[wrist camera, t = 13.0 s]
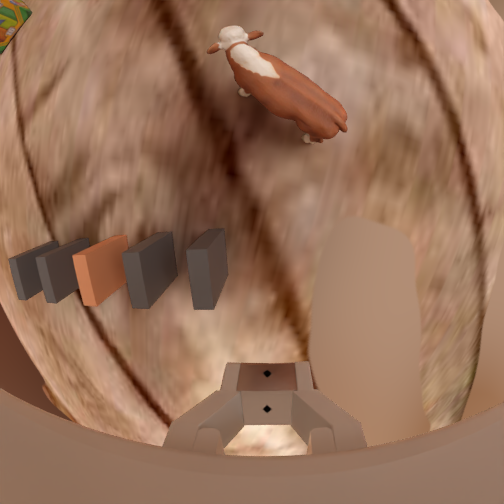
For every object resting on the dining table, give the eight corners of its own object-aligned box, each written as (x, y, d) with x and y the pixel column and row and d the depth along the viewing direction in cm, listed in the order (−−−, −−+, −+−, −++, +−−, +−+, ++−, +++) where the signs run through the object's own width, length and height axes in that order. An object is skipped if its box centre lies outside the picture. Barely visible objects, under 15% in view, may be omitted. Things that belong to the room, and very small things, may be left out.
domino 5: (224, 228, 28) (207, 249, 20) (228, 274, 29) (213, 309, 21) (208, 229, 28) (185, 249, 20) (213, 274, 29) (193, 309, 21)
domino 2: (88, 238, 29) (44, 256, 21) (95, 276, 30) (56, 303, 22) (78, 238, 29) (35, 257, 21) (86, 276, 30) (46, 302, 23)
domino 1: (57, 240, 29) (15, 258, 22) (65, 276, 31) (26, 300, 23) (49, 241, 29) (8, 258, 22) (57, 276, 31) (19, 299, 23)
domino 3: (126, 234, 28) (85, 254, 21) (133, 276, 30) (96, 306, 22) (114, 235, 29) (72, 255, 21) (121, 276, 30) (84, 305, 22)
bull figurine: (239, 46, 23) (229, 6, 15) (341, 130, 24) (369, 113, 17) (209, 74, 24) (188, 41, 16) (311, 160, 25) (329, 153, 18)
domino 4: (171, 231, 28) (138, 252, 20) (177, 275, 29) (149, 308, 22) (157, 232, 28) (121, 253, 20) (163, 276, 29) (132, 308, 22)
